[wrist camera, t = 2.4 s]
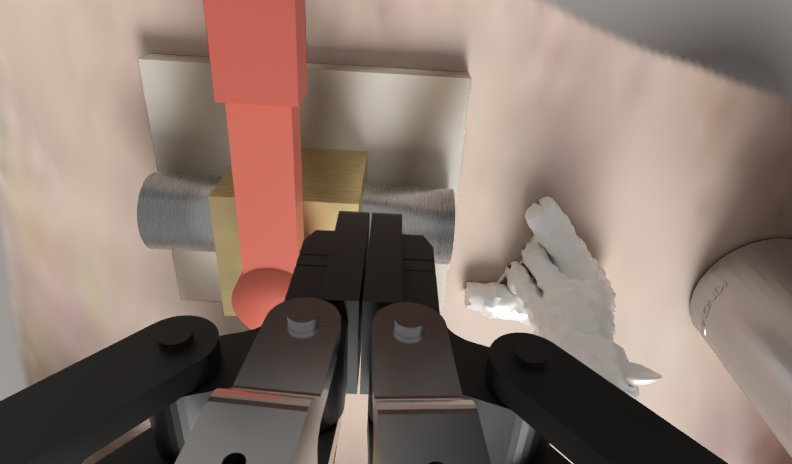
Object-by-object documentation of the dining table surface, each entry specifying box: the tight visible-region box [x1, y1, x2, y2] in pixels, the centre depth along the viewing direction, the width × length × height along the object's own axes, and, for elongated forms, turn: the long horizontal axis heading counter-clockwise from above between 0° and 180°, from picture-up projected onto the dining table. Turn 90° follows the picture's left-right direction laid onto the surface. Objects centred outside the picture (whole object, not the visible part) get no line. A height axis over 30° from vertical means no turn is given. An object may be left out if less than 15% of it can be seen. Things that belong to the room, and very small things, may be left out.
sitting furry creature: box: [465, 197, 662, 400], centre depth 31 cm, size 10×9×12 cm
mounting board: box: [138, 54, 471, 313], centre depth 33 cm, size 18×16×2 cm
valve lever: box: [203, 0, 308, 330], centre depth 22 cm, size 15×4×3 cm, turn 177°
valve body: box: [137, 148, 455, 316], centre depth 30 cm, size 17×7×7 cm, turn 87°
